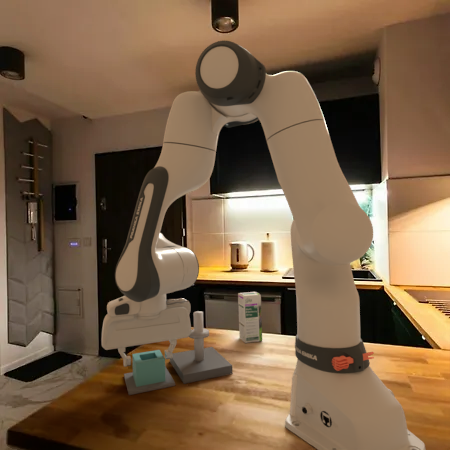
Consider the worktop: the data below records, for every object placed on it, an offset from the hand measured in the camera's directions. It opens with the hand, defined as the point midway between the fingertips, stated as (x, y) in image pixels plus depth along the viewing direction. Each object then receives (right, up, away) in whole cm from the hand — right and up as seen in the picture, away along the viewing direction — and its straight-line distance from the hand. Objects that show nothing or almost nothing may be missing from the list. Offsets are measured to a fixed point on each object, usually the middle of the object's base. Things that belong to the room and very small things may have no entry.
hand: (148, 361), depth 77 cm
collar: (0, -4, 0) cm, 4 cm away
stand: (+11, -4, +7) cm, 14 cm away
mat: (0, -4, 0) cm, 4 cm away
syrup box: (+26, -4, +27) cm, 37 cm away
